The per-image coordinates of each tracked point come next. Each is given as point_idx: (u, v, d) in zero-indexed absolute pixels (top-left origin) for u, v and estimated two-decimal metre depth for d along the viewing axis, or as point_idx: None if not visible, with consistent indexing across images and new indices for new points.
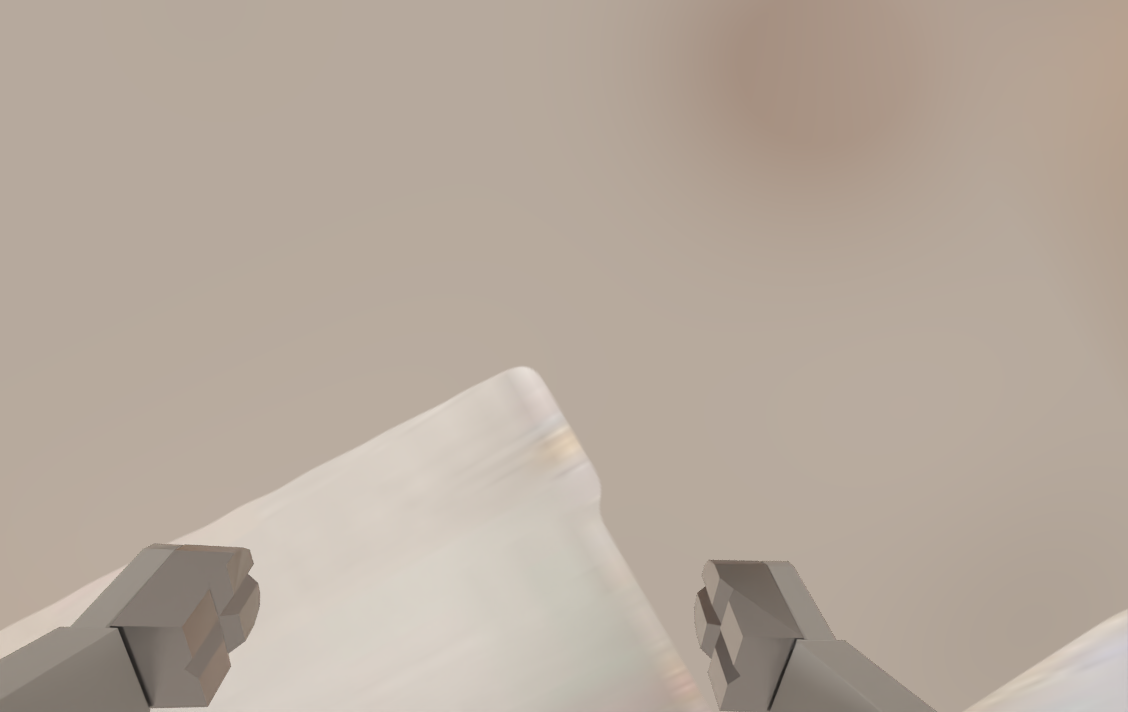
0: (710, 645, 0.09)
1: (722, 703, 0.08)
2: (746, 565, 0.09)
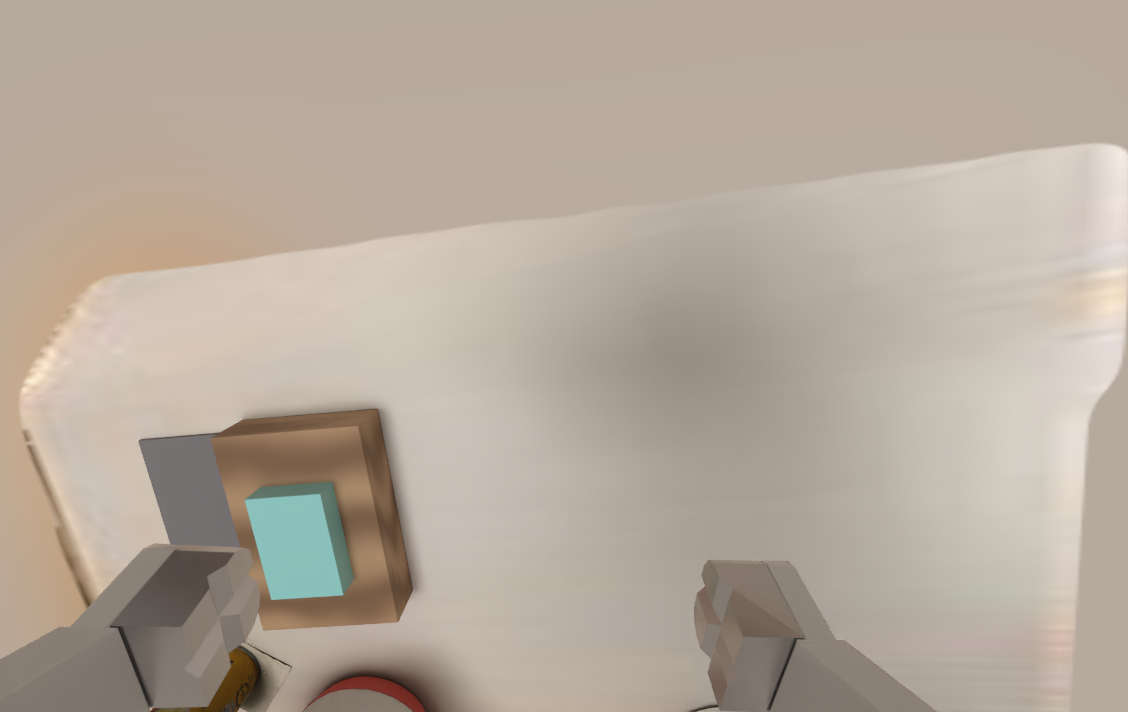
0: (710, 645, 0.09)
1: (722, 703, 0.08)
2: (746, 565, 0.09)
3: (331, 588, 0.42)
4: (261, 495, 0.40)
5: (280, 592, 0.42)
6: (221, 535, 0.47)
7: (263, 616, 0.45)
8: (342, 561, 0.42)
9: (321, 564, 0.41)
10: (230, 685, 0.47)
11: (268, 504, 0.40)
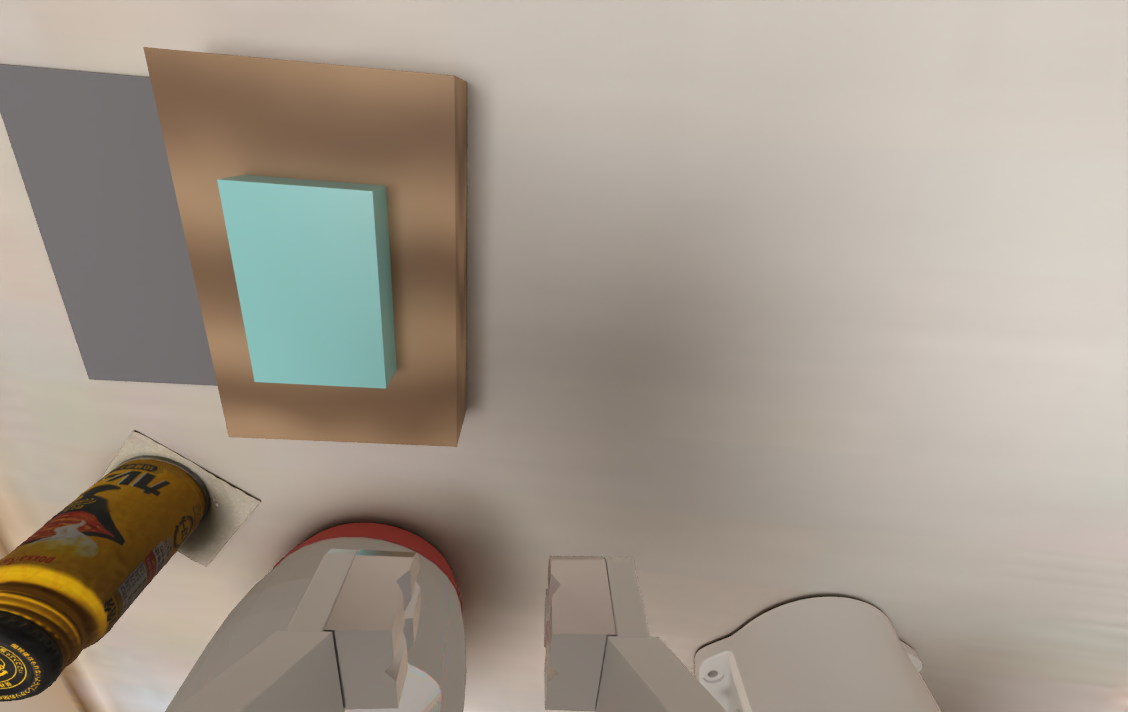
0: None
1: (546, 702, 0.08)
2: (583, 561, 0.09)
3: (366, 374, 0.24)
4: (251, 180, 0.21)
5: (272, 370, 0.24)
6: (153, 279, 0.28)
7: (230, 415, 0.27)
8: (388, 333, 0.24)
9: (355, 329, 0.23)
10: (166, 516, 0.30)
11: (266, 197, 0.21)
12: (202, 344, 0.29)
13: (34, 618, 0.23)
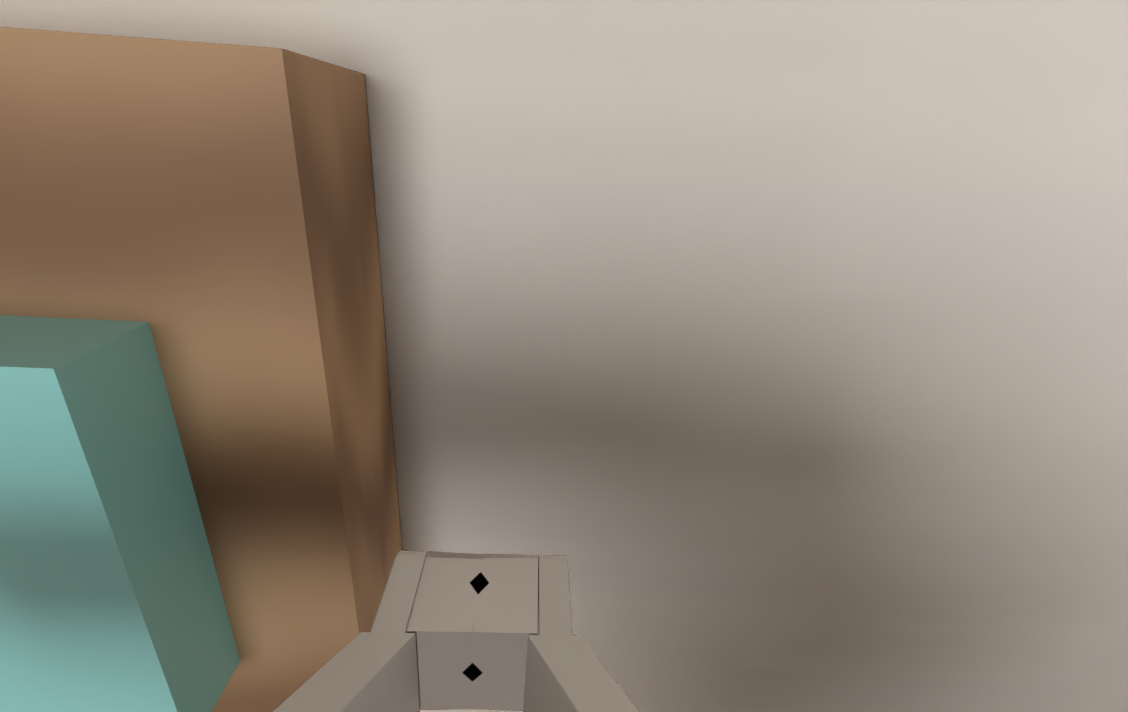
0: None
1: (473, 701, 0.08)
2: (516, 559, 0.09)
3: None
4: None
5: None
6: None
7: None
8: (192, 629, 0.11)
9: (91, 654, 0.10)
10: None
11: None
12: None
13: None
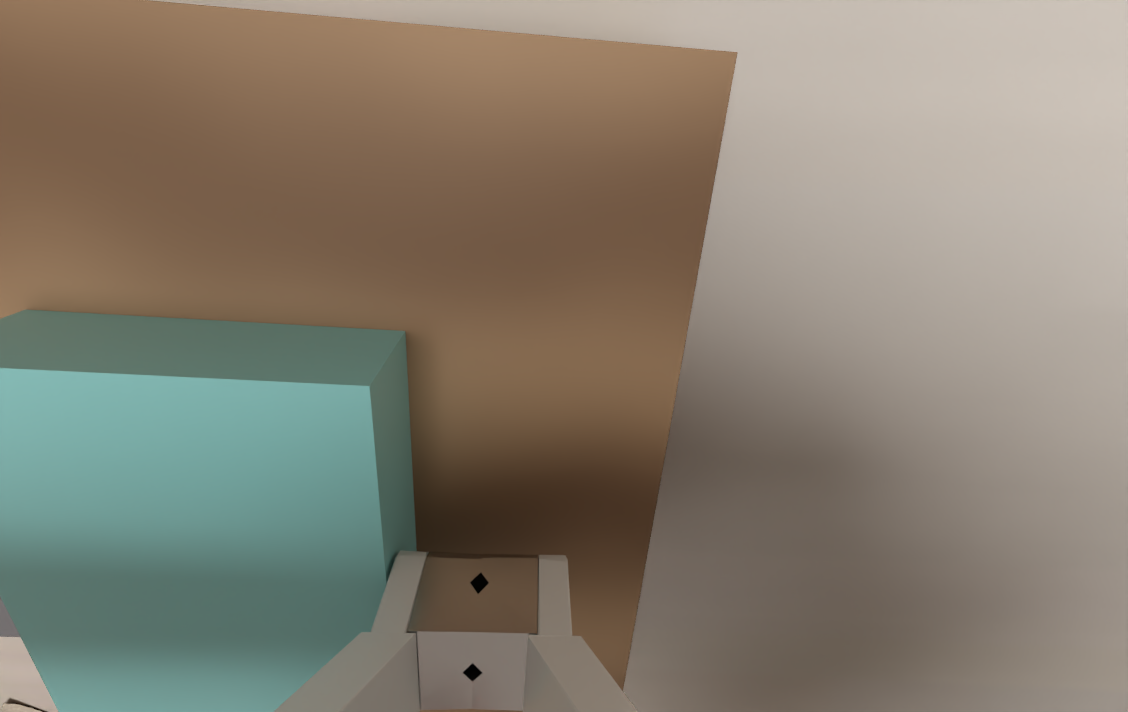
0: None
1: (472, 701, 0.08)
2: (515, 559, 0.09)
3: None
4: (8, 350, 0.07)
5: None
6: None
7: None
8: None
9: None
10: None
11: (48, 406, 0.07)
12: None
13: None
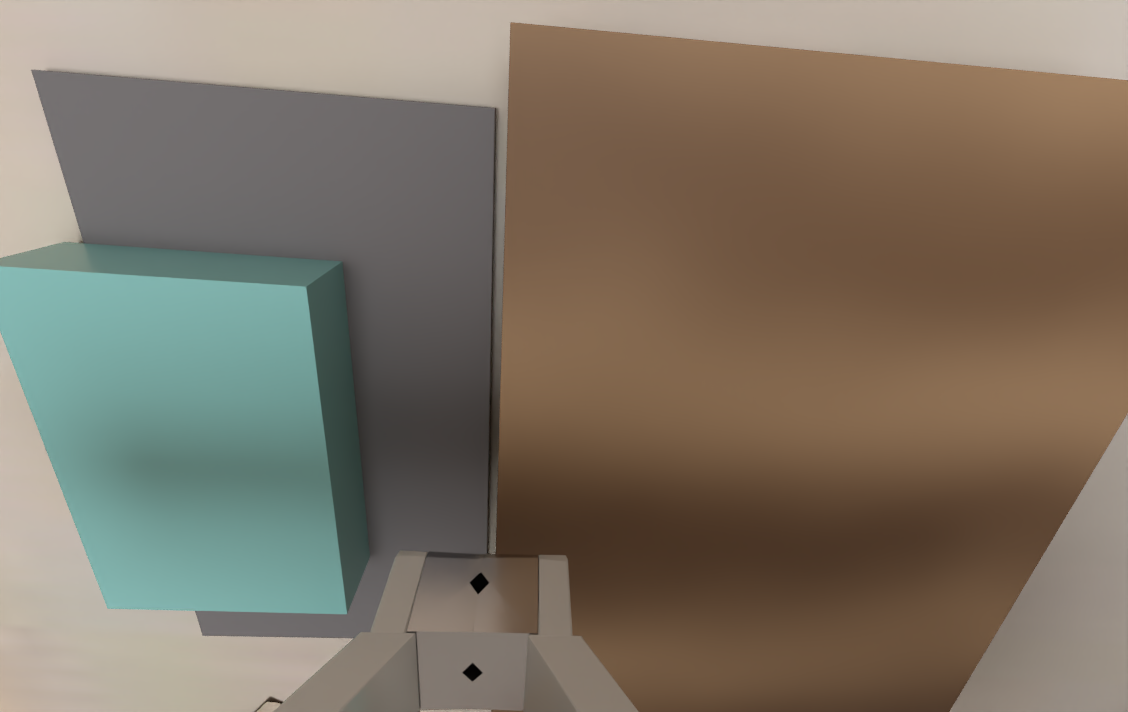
0: None
1: (473, 701, 0.08)
2: (515, 559, 0.09)
3: None
4: (284, 263, 0.11)
5: None
6: None
7: None
8: None
9: None
10: None
11: None
12: None
13: None
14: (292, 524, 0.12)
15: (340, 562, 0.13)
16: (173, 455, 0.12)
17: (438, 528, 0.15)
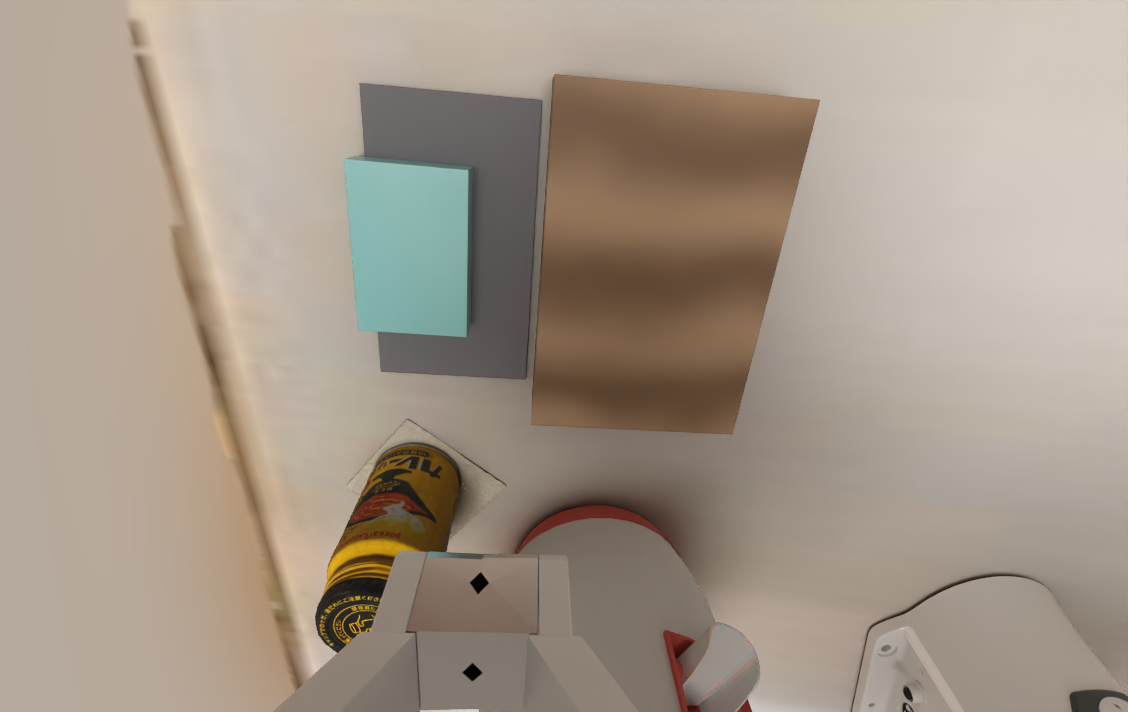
0: None
1: (473, 701, 0.08)
2: (516, 559, 0.09)
3: None
4: (451, 165, 0.27)
5: None
6: None
7: (538, 404, 0.30)
8: None
9: None
10: (449, 498, 0.33)
11: None
12: (491, 339, 0.32)
13: None
14: (448, 284, 0.28)
15: (466, 306, 0.29)
16: (403, 247, 0.27)
17: (505, 308, 0.31)
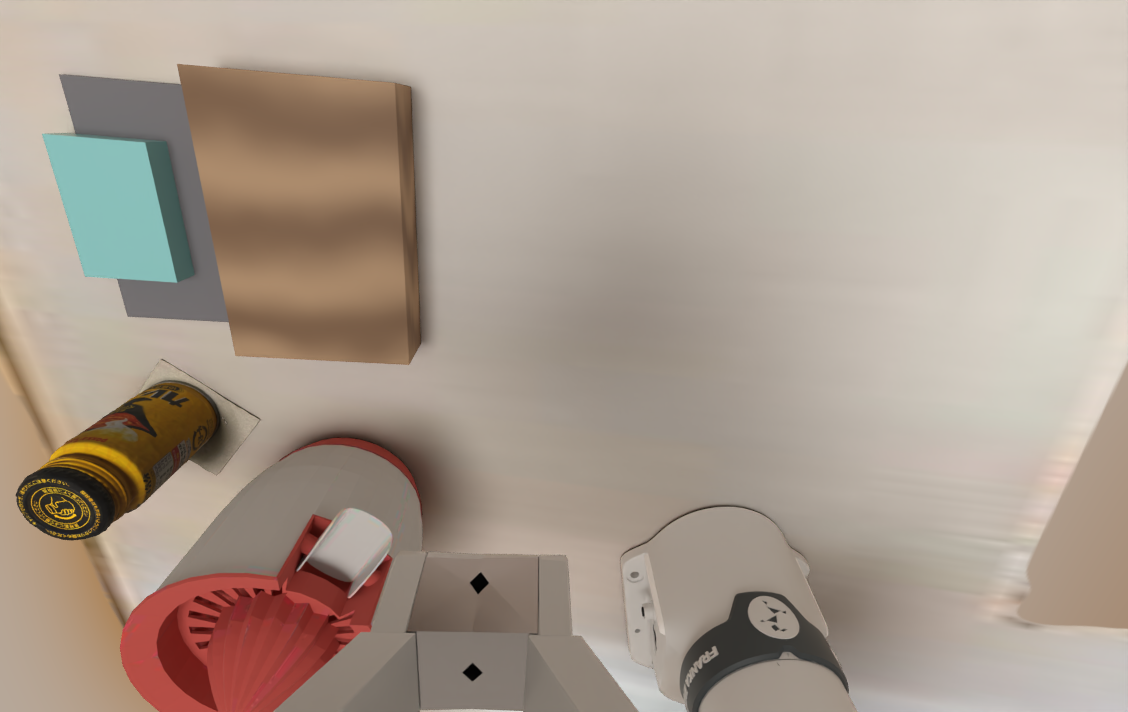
0: None
1: (473, 701, 0.08)
2: (516, 559, 0.09)
3: None
4: (143, 140, 0.34)
5: None
6: None
7: (236, 338, 0.36)
8: None
9: None
10: (186, 423, 0.39)
11: None
12: (215, 288, 0.38)
13: (95, 476, 0.32)
14: (151, 237, 0.35)
15: (171, 256, 0.35)
16: (106, 206, 0.34)
17: None
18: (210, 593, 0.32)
